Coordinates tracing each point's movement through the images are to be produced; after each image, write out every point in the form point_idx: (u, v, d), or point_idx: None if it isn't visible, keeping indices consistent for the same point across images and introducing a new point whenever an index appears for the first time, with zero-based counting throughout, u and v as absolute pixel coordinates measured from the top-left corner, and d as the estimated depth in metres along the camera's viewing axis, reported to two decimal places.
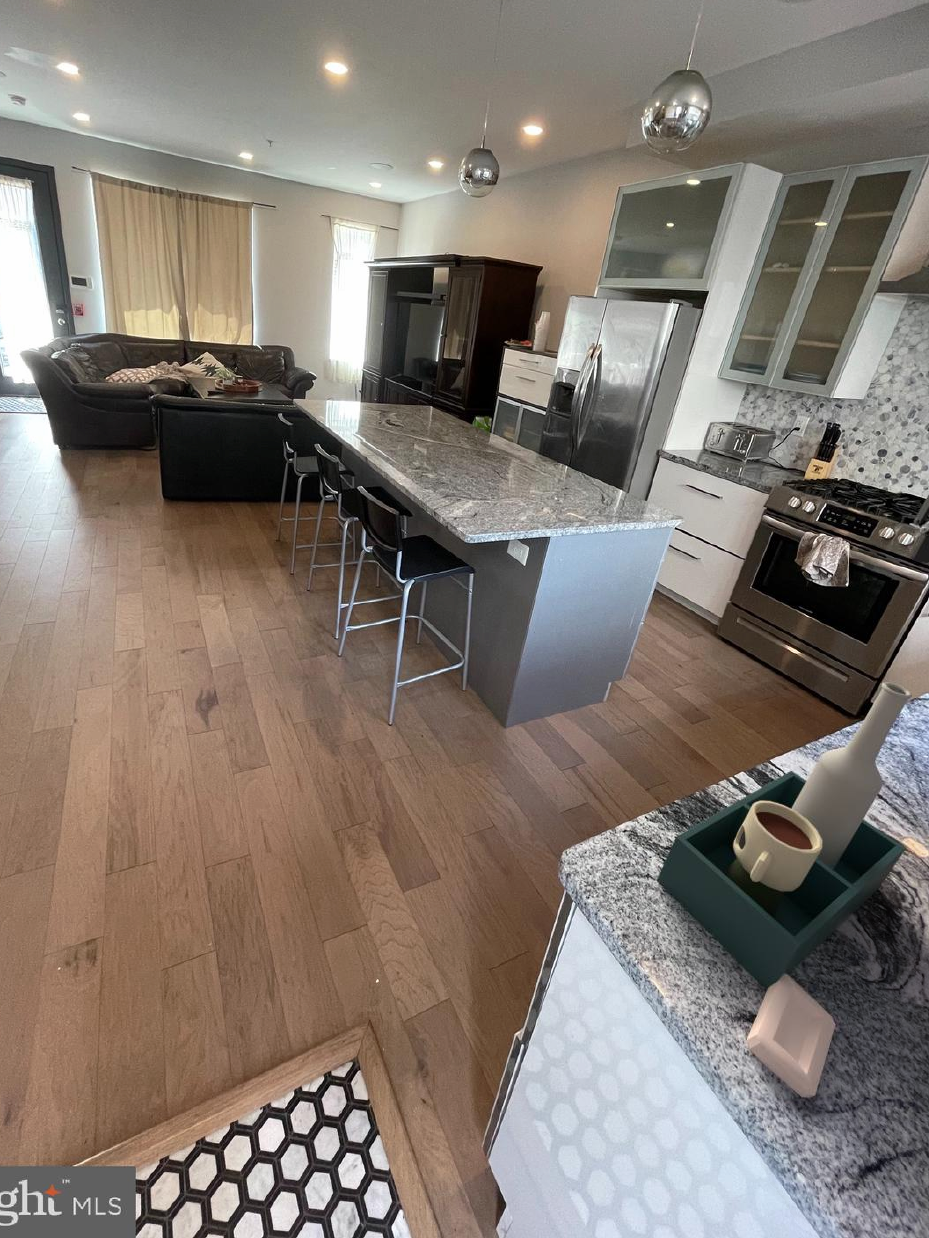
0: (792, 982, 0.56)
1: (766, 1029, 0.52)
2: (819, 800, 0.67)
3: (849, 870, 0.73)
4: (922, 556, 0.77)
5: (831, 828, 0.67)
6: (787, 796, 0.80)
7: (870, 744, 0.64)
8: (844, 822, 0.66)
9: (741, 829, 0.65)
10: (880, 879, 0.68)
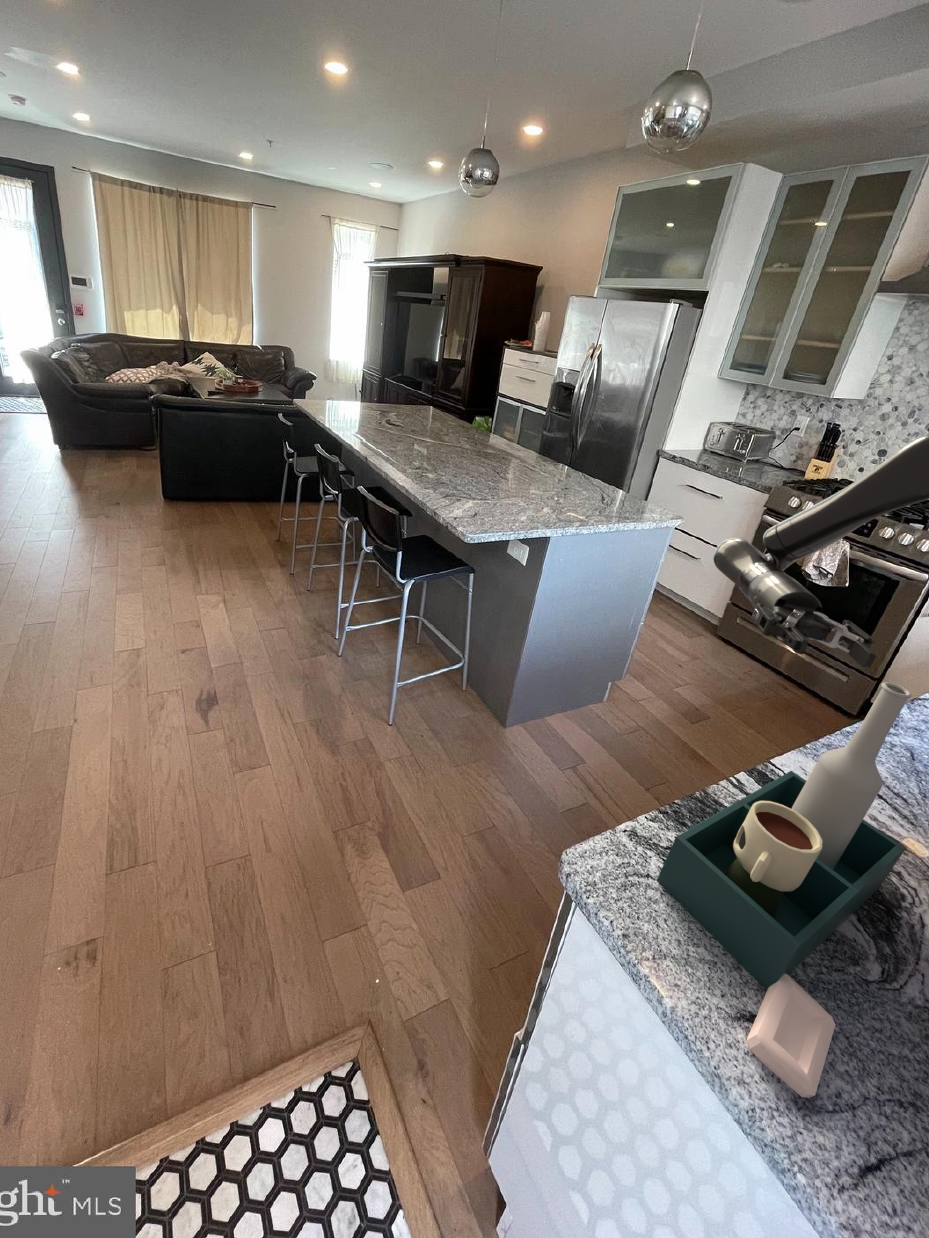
0: (792, 982, 0.56)
1: (766, 1029, 0.52)
2: (819, 800, 0.67)
3: (849, 870, 0.73)
4: (863, 659, 0.74)
5: (831, 828, 0.67)
6: (787, 796, 0.80)
7: (870, 744, 0.64)
8: (844, 822, 0.66)
9: (741, 829, 0.65)
10: (880, 879, 0.68)
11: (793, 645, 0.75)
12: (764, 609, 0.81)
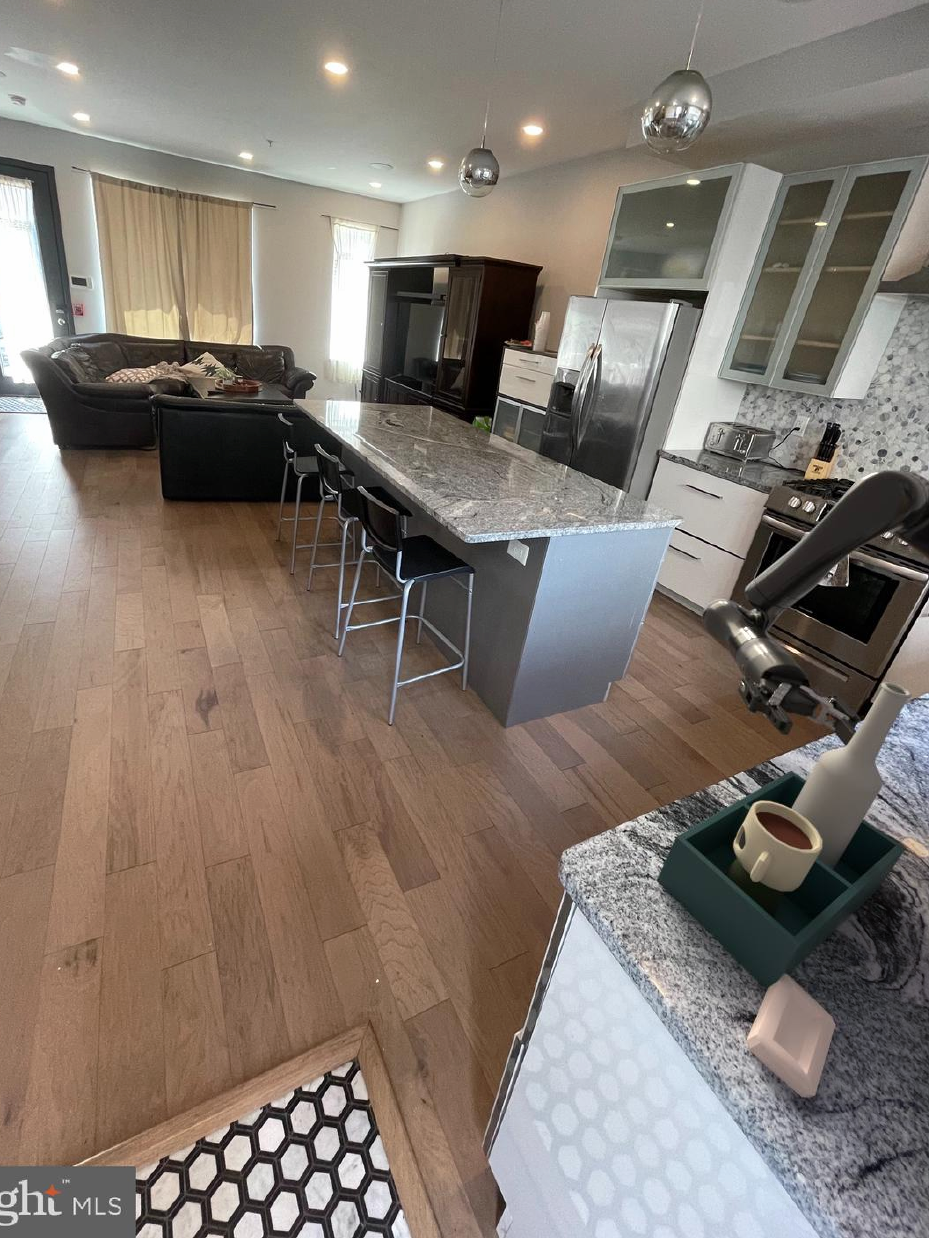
0: (792, 982, 0.56)
1: (766, 1029, 0.52)
2: (819, 800, 0.67)
3: (849, 870, 0.73)
4: (847, 740, 0.74)
5: (831, 828, 0.67)
6: (787, 796, 0.80)
7: (870, 744, 0.64)
8: (844, 822, 0.66)
9: (741, 829, 0.65)
10: (880, 879, 0.68)
11: (778, 725, 0.75)
12: (750, 684, 0.81)
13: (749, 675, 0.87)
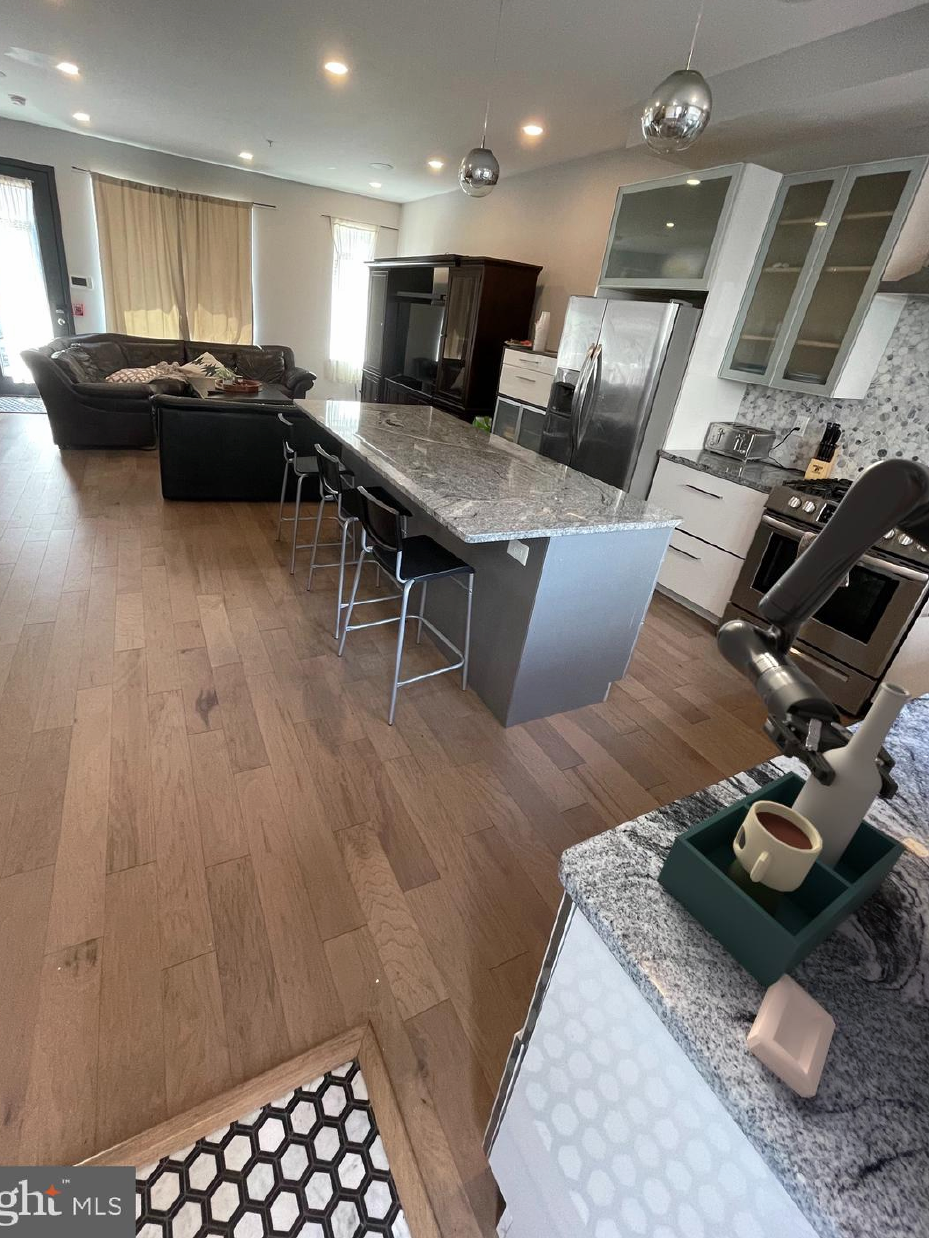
0: (792, 982, 0.56)
1: (766, 1029, 0.52)
2: (819, 800, 0.67)
3: (849, 870, 0.73)
4: (883, 789, 0.66)
5: (831, 828, 0.67)
6: (787, 796, 0.80)
7: (870, 744, 0.64)
8: (844, 822, 0.66)
9: (741, 829, 0.65)
10: (880, 879, 0.68)
11: (818, 775, 0.66)
12: (779, 723, 0.73)
13: (772, 708, 0.79)
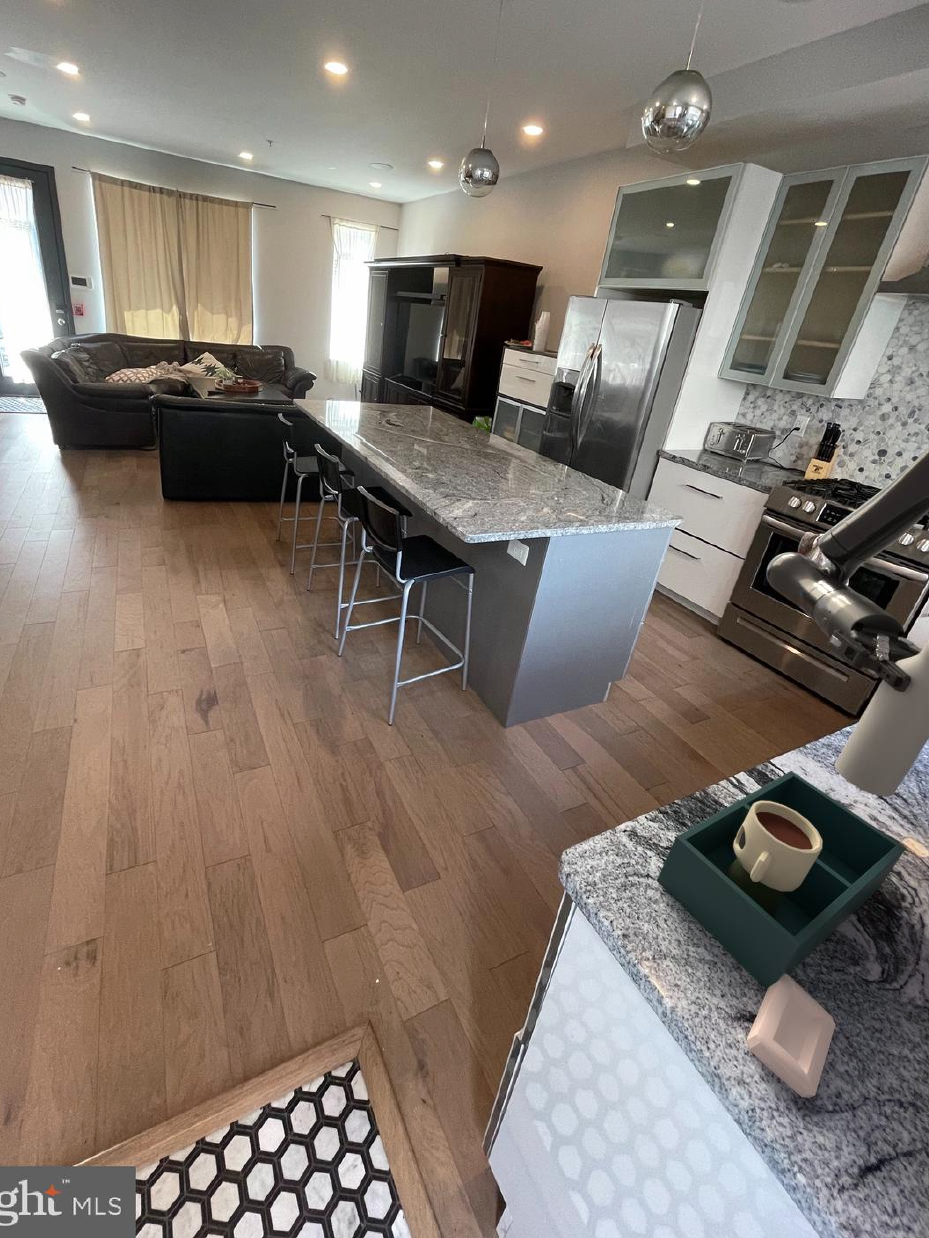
0: (792, 982, 0.56)
1: (766, 1029, 0.52)
2: (892, 708, 0.67)
3: (849, 870, 0.73)
4: None
5: (904, 736, 0.67)
6: (787, 796, 0.80)
7: None
8: (918, 728, 0.66)
9: (741, 829, 0.65)
10: (880, 879, 0.68)
11: (892, 681, 0.66)
12: (846, 637, 0.72)
13: (834, 629, 0.79)
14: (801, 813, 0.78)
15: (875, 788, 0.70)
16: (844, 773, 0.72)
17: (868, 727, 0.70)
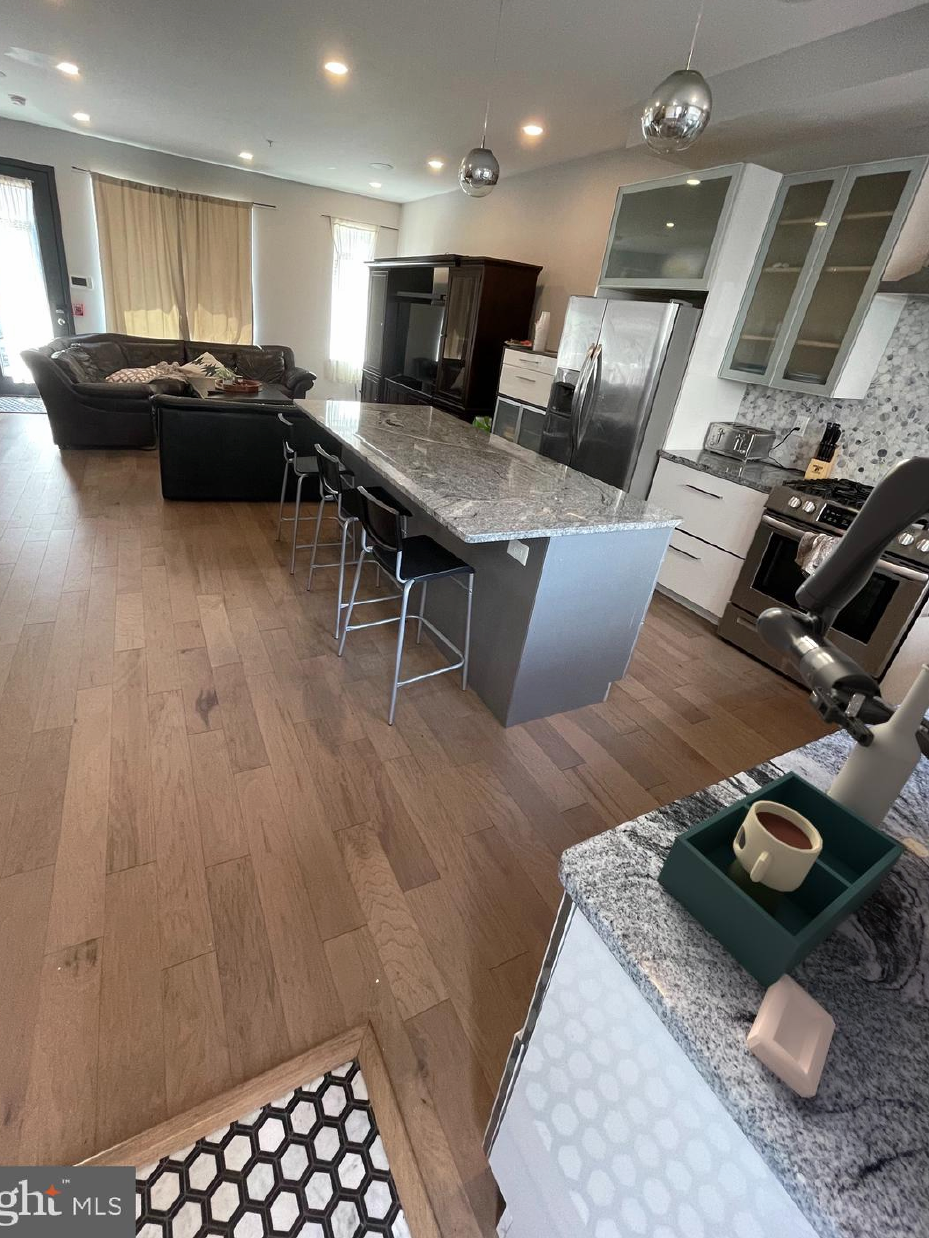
0: (792, 982, 0.56)
1: (766, 1029, 0.52)
2: (863, 770, 0.75)
3: (849, 870, 0.73)
4: None
5: (874, 796, 0.74)
6: (787, 796, 0.80)
7: (911, 718, 0.71)
8: (886, 790, 0.74)
9: (741, 829, 0.65)
10: (880, 879, 0.68)
11: (858, 737, 0.74)
12: (823, 694, 0.80)
13: (817, 685, 0.86)
14: (801, 813, 0.78)
15: None
16: None
17: (843, 785, 0.77)
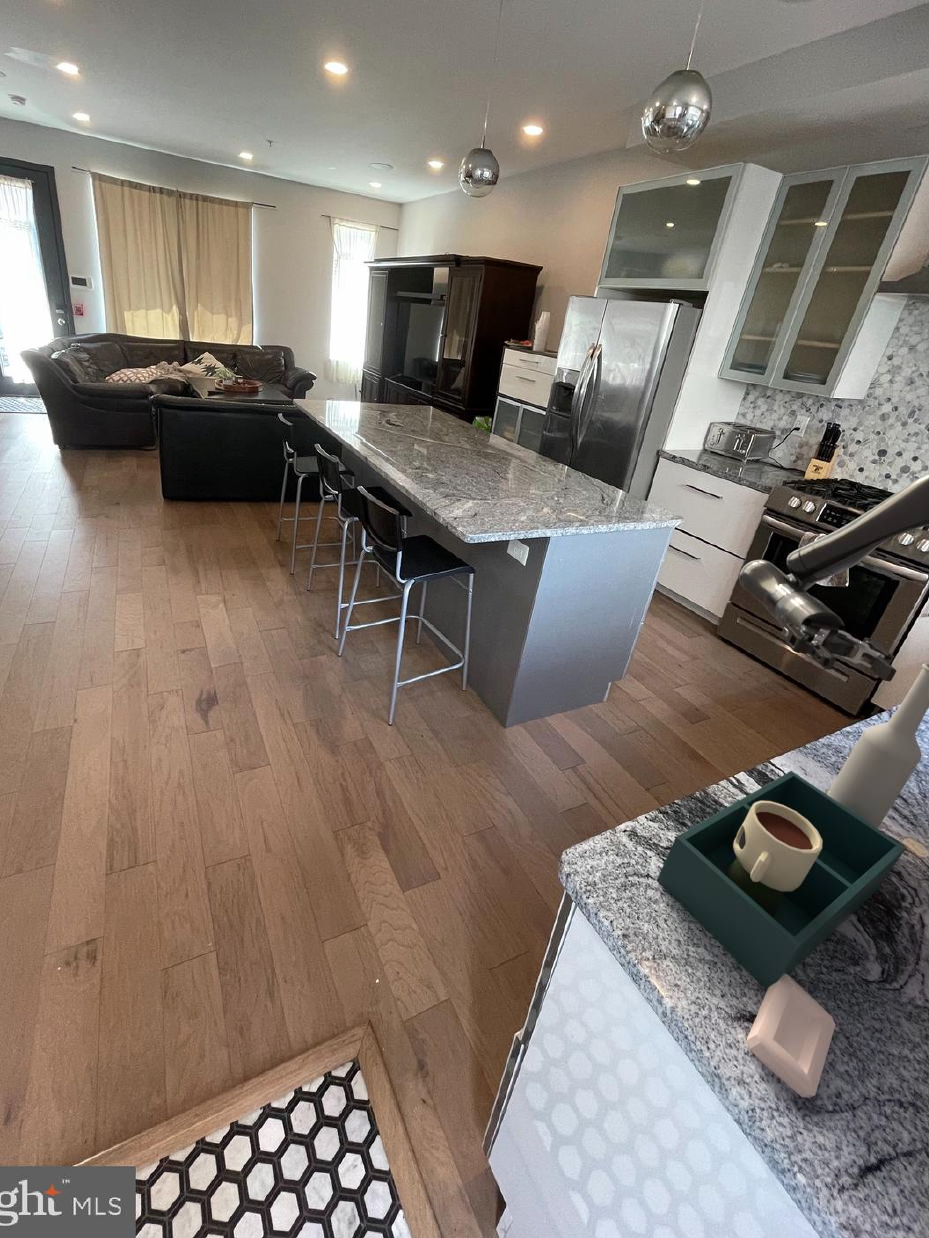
0: (792, 982, 0.56)
1: (766, 1029, 0.52)
2: (863, 770, 0.75)
3: (849, 870, 0.73)
4: (884, 673, 0.83)
5: (874, 796, 0.74)
6: (787, 796, 0.80)
7: (911, 718, 0.71)
8: (886, 790, 0.74)
9: (741, 829, 0.65)
10: (880, 879, 0.68)
11: (822, 661, 0.83)
12: (793, 628, 0.90)
13: None
14: (801, 813, 0.78)
15: None
16: None
17: (843, 785, 0.77)
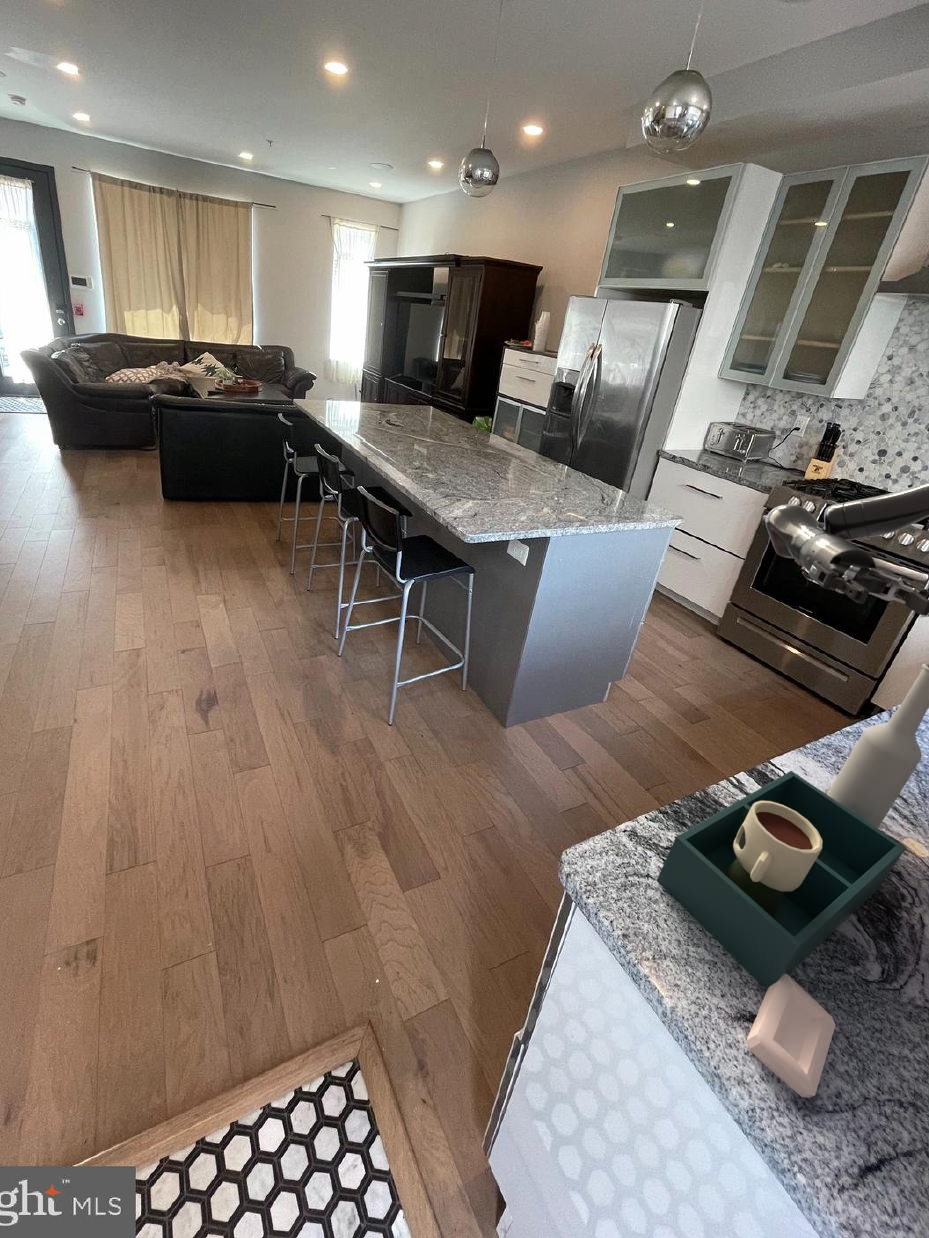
0: (792, 982, 0.56)
1: (766, 1029, 0.52)
2: (863, 770, 0.75)
3: (849, 870, 0.73)
4: (920, 607, 0.79)
5: (874, 796, 0.74)
6: (787, 796, 0.80)
7: (911, 718, 0.71)
8: (886, 790, 0.74)
9: (741, 829, 0.65)
10: (880, 879, 0.68)
11: (854, 595, 0.79)
12: (821, 565, 0.86)
13: None
14: (801, 813, 0.78)
15: None
16: None
17: (843, 785, 0.77)
